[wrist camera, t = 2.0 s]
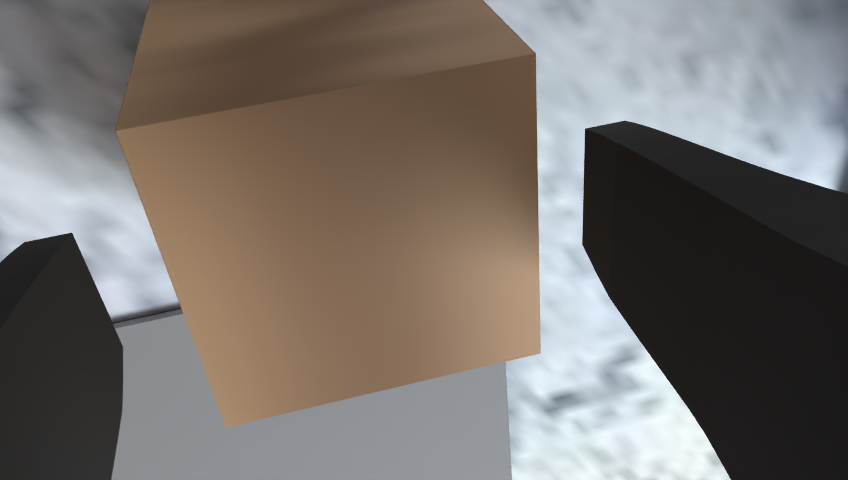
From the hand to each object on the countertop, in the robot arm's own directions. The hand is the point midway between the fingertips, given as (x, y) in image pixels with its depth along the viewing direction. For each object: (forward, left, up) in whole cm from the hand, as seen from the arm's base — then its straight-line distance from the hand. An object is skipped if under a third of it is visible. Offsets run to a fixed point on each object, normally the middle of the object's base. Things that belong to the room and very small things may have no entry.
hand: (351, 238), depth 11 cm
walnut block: (0, 0, -5) cm, 5 cm away
